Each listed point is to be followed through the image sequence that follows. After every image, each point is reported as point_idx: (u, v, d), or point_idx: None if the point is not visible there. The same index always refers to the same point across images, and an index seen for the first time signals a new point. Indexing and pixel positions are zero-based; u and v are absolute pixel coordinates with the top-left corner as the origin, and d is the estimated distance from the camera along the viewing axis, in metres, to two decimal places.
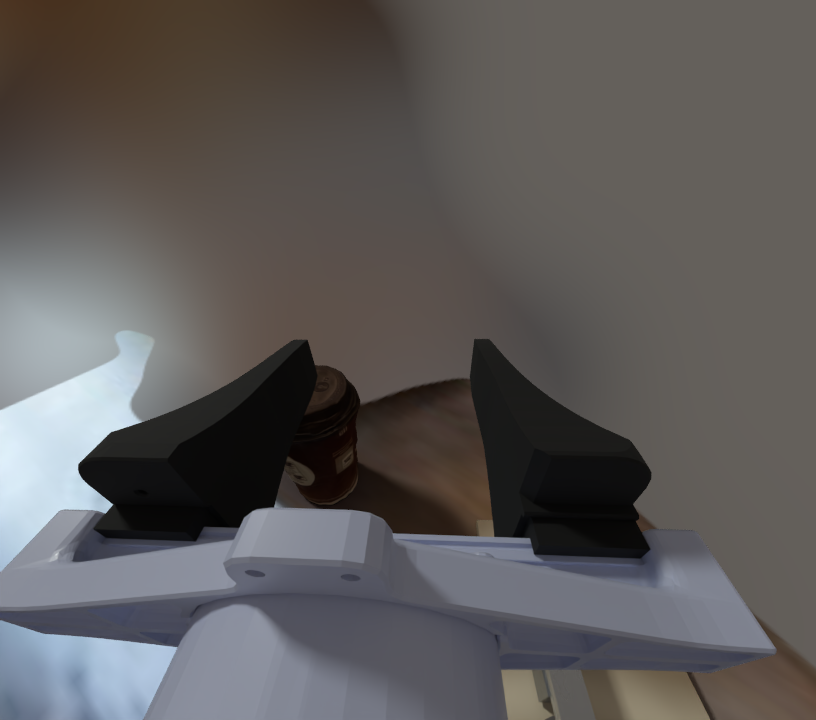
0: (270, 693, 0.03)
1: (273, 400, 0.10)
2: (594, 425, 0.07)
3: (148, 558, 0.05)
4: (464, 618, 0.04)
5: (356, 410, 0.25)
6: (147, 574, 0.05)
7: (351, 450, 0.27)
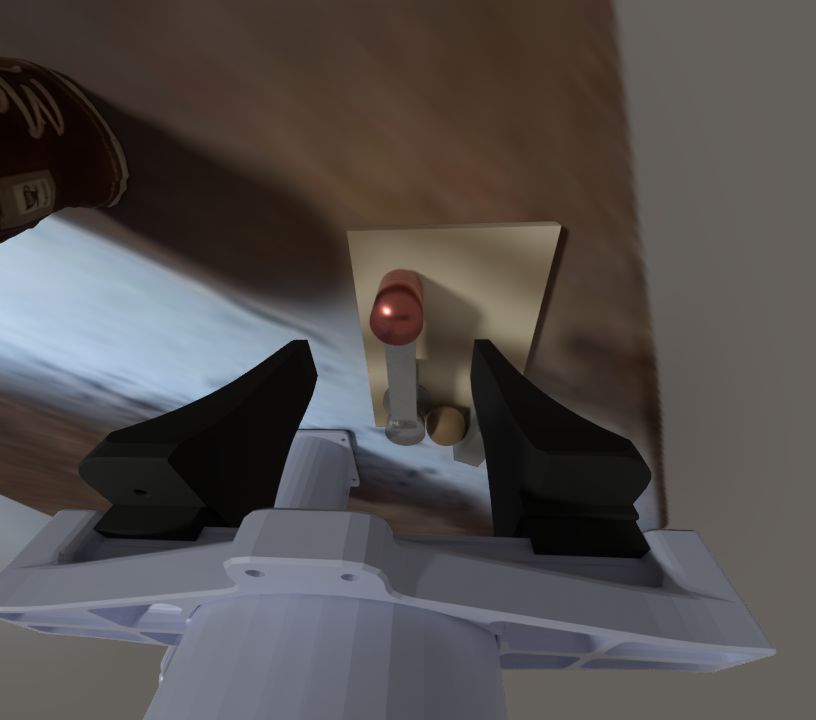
0: (270, 693, 0.03)
1: (273, 400, 0.10)
2: (594, 425, 0.07)
3: (148, 558, 0.05)
4: (464, 618, 0.04)
5: None
6: (147, 574, 0.05)
7: (12, 189, 0.12)
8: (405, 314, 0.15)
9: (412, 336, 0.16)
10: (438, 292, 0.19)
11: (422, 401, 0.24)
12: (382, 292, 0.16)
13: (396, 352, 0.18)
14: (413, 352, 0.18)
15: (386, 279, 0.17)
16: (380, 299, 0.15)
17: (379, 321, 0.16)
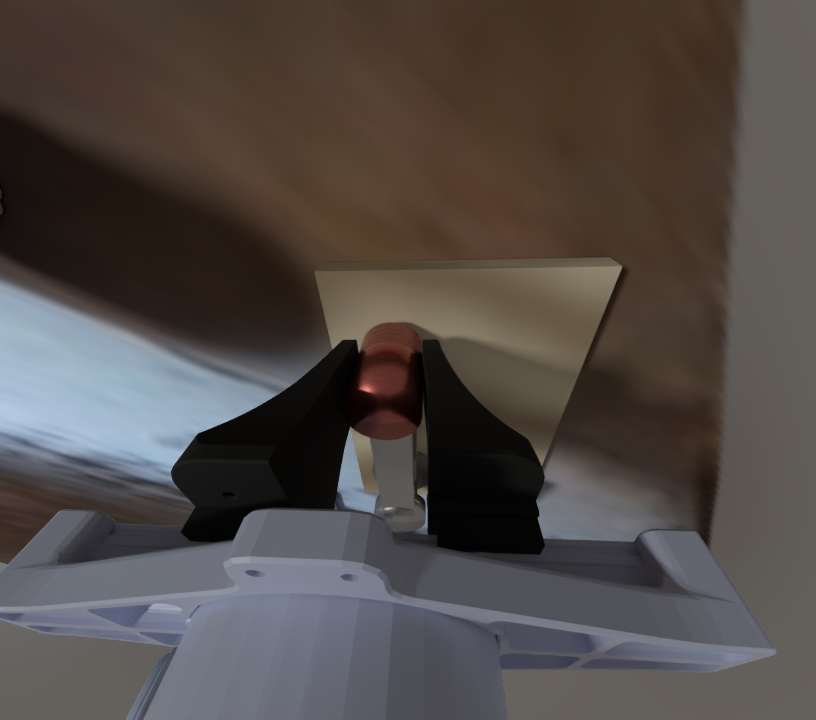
0: (269, 693, 0.03)
1: (334, 401, 0.10)
2: (504, 424, 0.07)
3: (148, 558, 0.05)
4: (464, 618, 0.04)
5: None
6: (147, 574, 0.05)
7: None
8: (396, 404, 0.10)
9: (406, 430, 0.11)
10: (443, 349, 0.14)
11: (422, 470, 0.19)
12: (363, 366, 0.11)
13: None
14: (409, 438, 0.13)
15: (370, 340, 0.12)
16: (358, 381, 0.10)
17: (357, 412, 0.11)
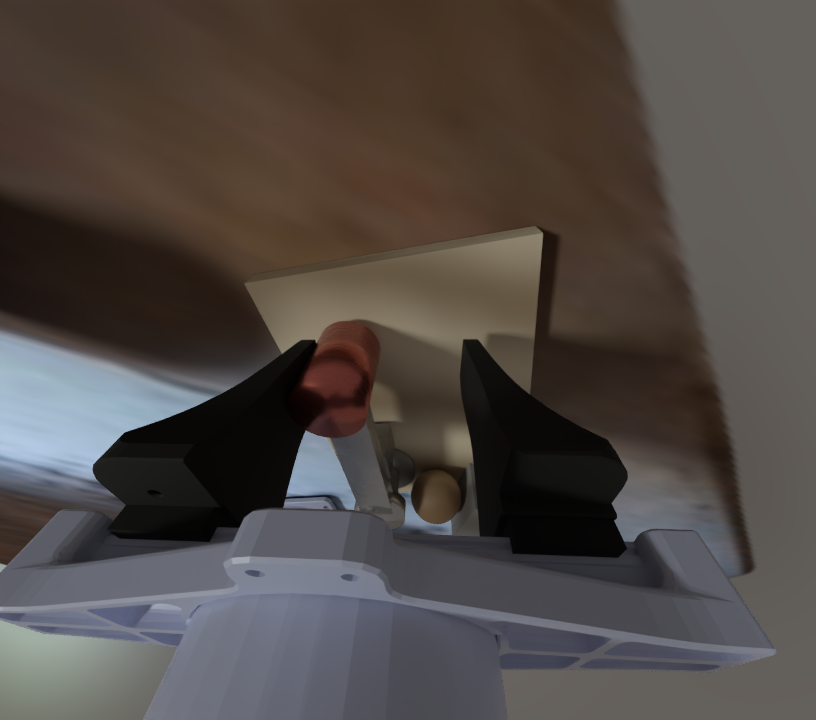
0: (269, 693, 0.03)
1: (283, 400, 0.10)
2: (574, 425, 0.07)
3: (148, 558, 0.05)
4: (464, 618, 0.04)
5: None
6: (147, 574, 0.05)
7: None
8: (337, 401, 0.10)
9: (355, 426, 0.11)
10: (387, 343, 0.14)
11: (402, 468, 0.19)
12: (308, 365, 0.11)
13: (344, 436, 0.13)
14: (367, 435, 0.13)
15: (321, 339, 0.12)
16: (299, 381, 0.10)
17: (302, 411, 0.11)
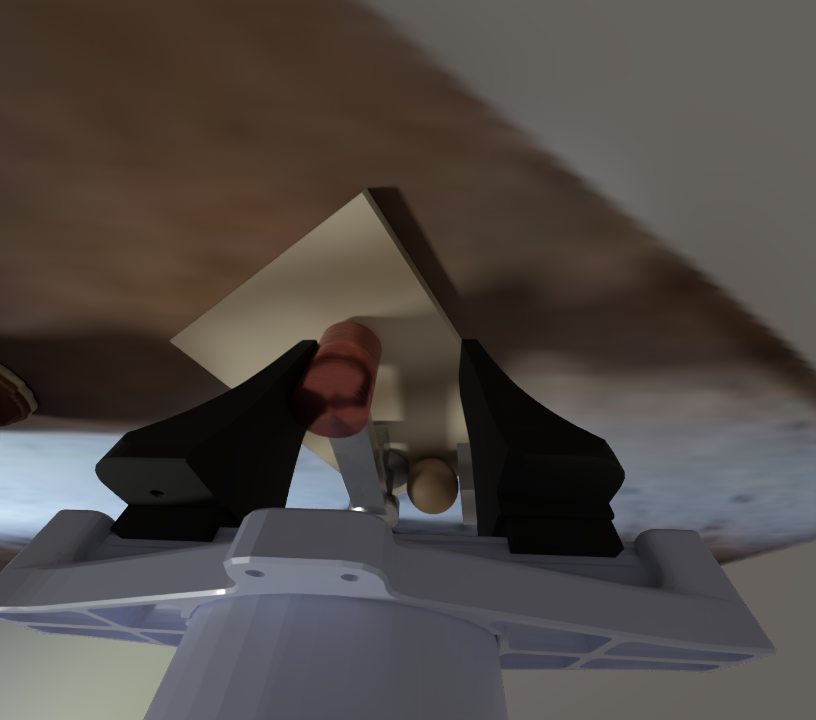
0: (271, 692, 0.03)
1: (284, 400, 0.10)
2: (572, 424, 0.07)
3: (148, 558, 0.05)
4: (464, 618, 0.04)
5: None
6: (147, 574, 0.05)
7: None
8: (339, 402, 0.10)
9: (355, 427, 0.11)
10: None
11: (391, 464, 0.19)
12: (310, 365, 0.11)
13: None
14: (366, 436, 0.13)
15: (323, 339, 0.12)
16: (302, 380, 0.10)
17: (304, 410, 0.11)
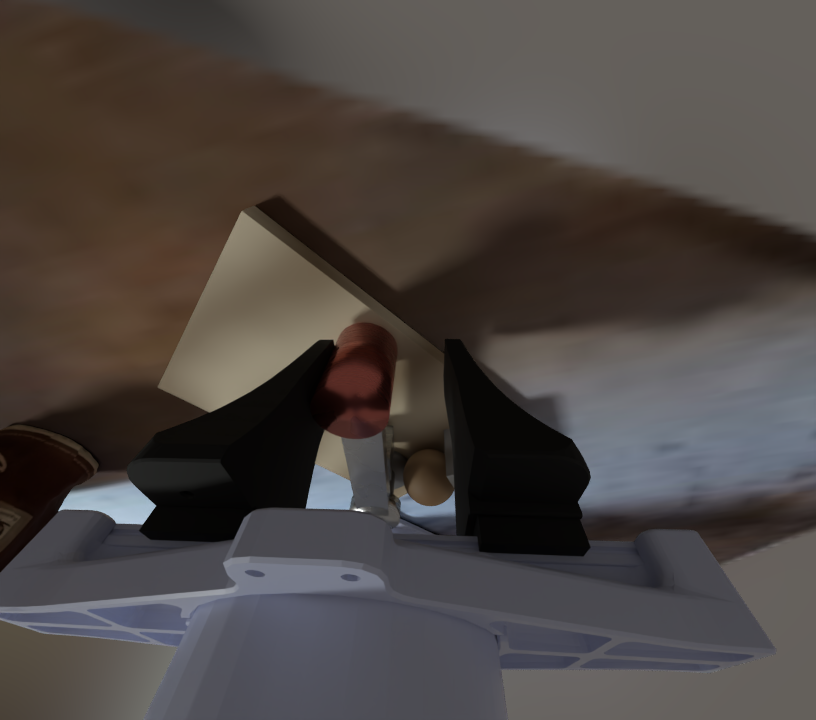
0: (271, 692, 0.03)
1: (305, 400, 0.10)
2: (544, 424, 0.07)
3: (148, 558, 0.05)
4: (464, 618, 0.04)
5: None
6: (147, 574, 0.05)
7: None
8: (362, 403, 0.10)
9: (374, 429, 0.11)
10: (262, 370, 0.16)
11: None
12: (332, 364, 0.11)
13: None
14: (380, 438, 0.13)
15: (343, 339, 0.12)
16: (325, 380, 0.10)
17: (325, 410, 0.11)
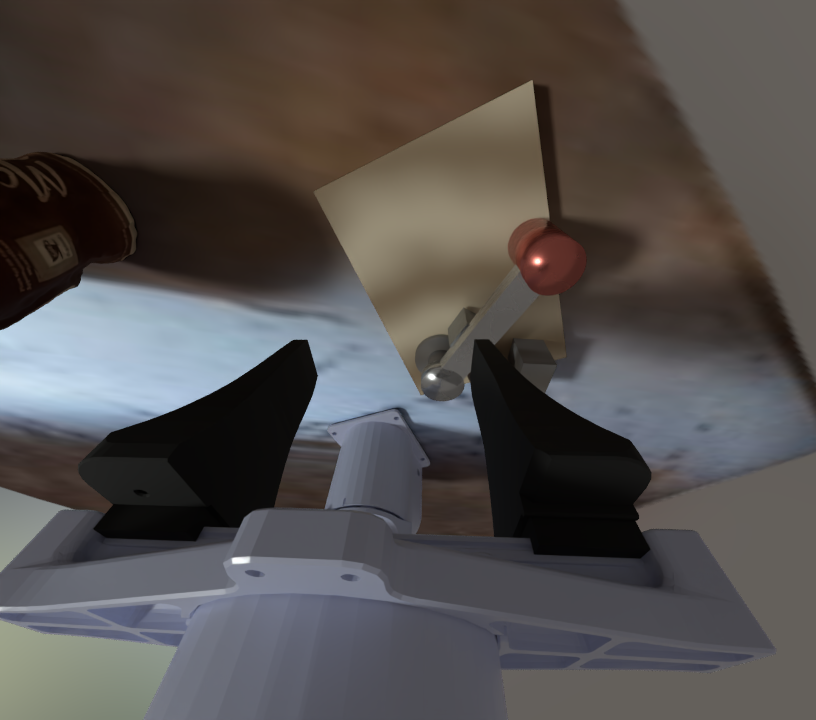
0: (270, 693, 0.03)
1: (273, 400, 0.10)
2: (594, 425, 0.07)
3: (148, 558, 0.05)
4: (464, 618, 0.04)
5: None
6: (147, 574, 0.05)
7: (34, 245, 0.14)
8: (571, 264, 0.14)
9: (555, 290, 0.15)
10: (425, 221, 0.18)
11: None
12: (551, 231, 0.15)
13: (511, 299, 0.17)
14: (525, 308, 0.17)
15: (543, 222, 0.16)
16: (558, 236, 0.14)
17: (543, 257, 0.14)
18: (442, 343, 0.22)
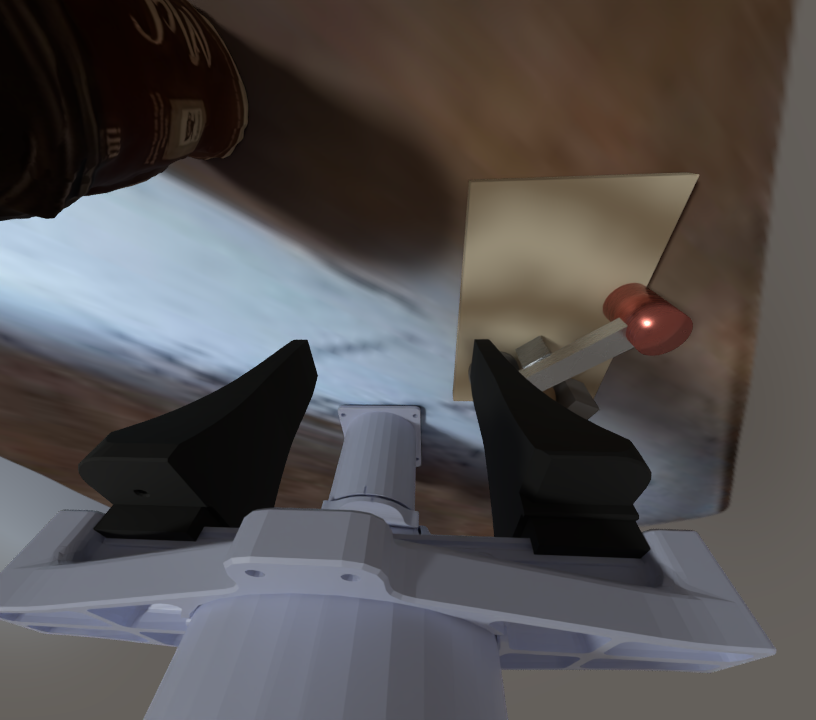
0: (269, 693, 0.03)
1: (273, 400, 0.10)
2: (594, 425, 0.07)
3: (148, 558, 0.05)
4: (464, 618, 0.04)
5: (80, 63, 0.07)
6: (147, 574, 0.05)
7: (181, 114, 0.11)
8: (676, 336, 0.17)
9: (651, 351, 0.18)
10: (552, 251, 0.19)
11: None
12: (667, 303, 0.17)
13: (605, 346, 0.19)
14: (611, 356, 0.19)
15: (651, 291, 0.18)
16: (678, 310, 0.16)
17: (661, 323, 0.16)
18: None
